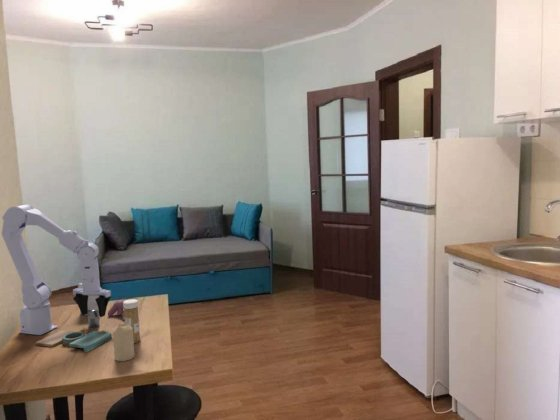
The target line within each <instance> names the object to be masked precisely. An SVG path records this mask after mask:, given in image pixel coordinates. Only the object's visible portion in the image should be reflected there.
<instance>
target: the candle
mask: <svg viewBox="0 0 560 420" xmlns="http://www.w3.org/2000/svg"><path fill="white" fill-rule="evenodd" d="M112 335H113V336H112V338H113V351H114V352H113V353H114V360H115V361H117V362H126V361H129V360H132V359H134V357H135V345H134V344H135V343H134V342H133V328H132V327H131V326H130V325H128V324H125V322H124V323H122V324H121V323H120V324H119V323H118V324H117V325H116V327H115V328H114V329H113V330H112Z"/></svg>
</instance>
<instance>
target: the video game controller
mask: <svg viewBox="0 0 560 420" xmlns="http://www.w3.org/2000/svg"><path fill="white" fill-rule="evenodd" d="M126 300H127V299H126ZM126 300H124V299H123V300H116V301H115V302H114V303H113V305H112V306H111V307H110V309H109V310H108V311H107V316H108V317H113V316H114V315H115V314H117V315H118V316H122V320H123V321H125V319H124V317H125V316H124V308H123V302H124V301H126Z"/></svg>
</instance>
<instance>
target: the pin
mask: <svg viewBox="0 0 560 420" xmlns="http://www.w3.org/2000/svg"><path fill="white" fill-rule="evenodd" d="M87 312H88V315H87V321H88V323H87V324H88V328H89V329H96V328H100V316H99V310H98V309H97V308H94V309H89V310H88V311H87Z"/></svg>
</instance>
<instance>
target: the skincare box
mask: <svg viewBox="0 0 560 420" xmlns="http://www.w3.org/2000/svg"><path fill="white" fill-rule="evenodd" d="M77 288H82V282H81V283H77ZM96 298H99V296H90V295H89V296H88V310H89V309H94V308H97V309H98V305H97V302H96V300H95V299H96ZM98 310H99V309H98ZM79 312H80V313H79V314H81V311H80V310H79ZM85 316H88V314H86V315H85Z"/></svg>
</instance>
